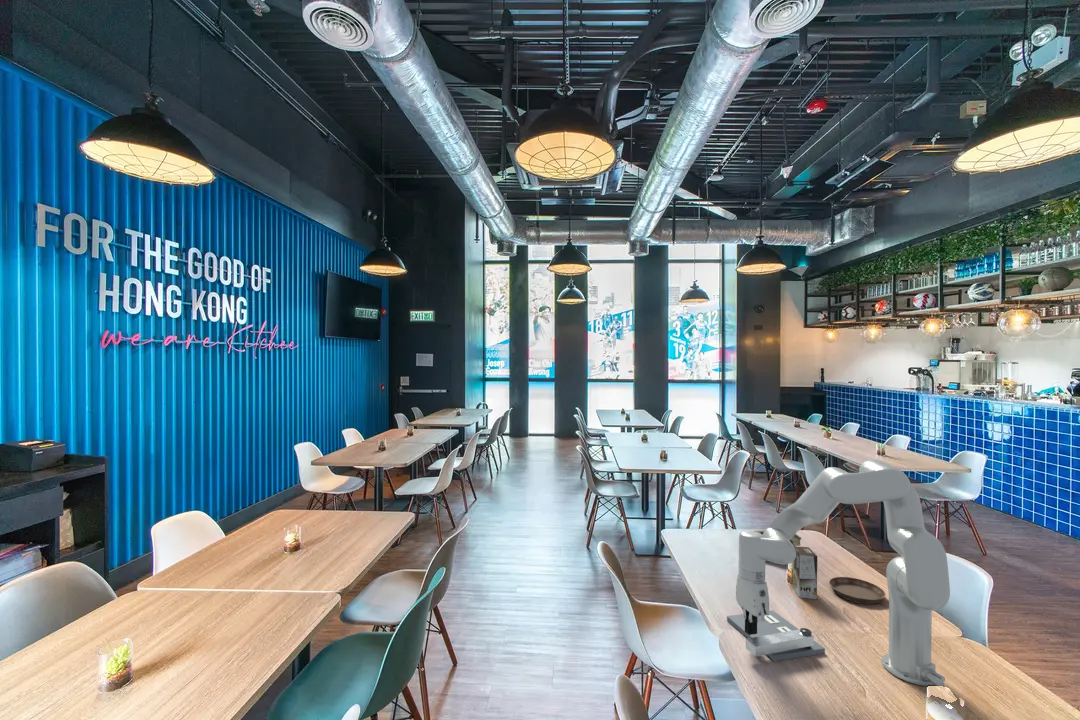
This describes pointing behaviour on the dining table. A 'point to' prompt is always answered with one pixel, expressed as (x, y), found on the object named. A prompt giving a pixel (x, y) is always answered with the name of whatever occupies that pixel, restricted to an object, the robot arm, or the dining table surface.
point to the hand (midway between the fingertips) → (750, 632)
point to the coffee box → (805, 573)
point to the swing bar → (780, 642)
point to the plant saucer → (857, 590)
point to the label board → (773, 626)
